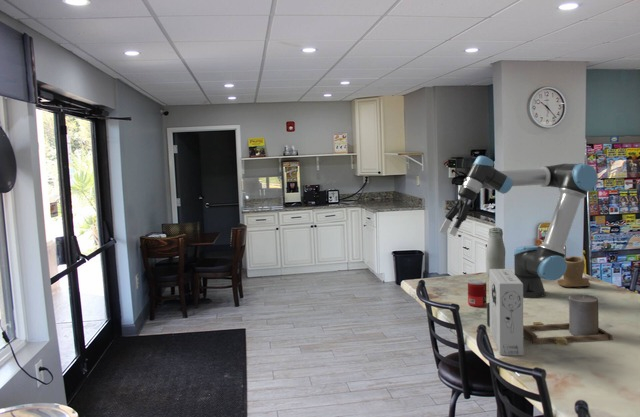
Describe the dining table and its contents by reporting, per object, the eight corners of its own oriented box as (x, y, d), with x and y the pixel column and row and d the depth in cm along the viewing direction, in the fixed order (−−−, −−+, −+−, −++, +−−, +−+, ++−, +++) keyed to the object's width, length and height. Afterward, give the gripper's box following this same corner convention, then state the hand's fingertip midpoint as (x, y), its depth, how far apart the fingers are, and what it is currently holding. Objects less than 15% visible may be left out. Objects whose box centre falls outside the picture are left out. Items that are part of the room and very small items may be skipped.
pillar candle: (595, 329, 188) (595, 291, 187) (601, 339, 179) (601, 298, 178) (567, 328, 192) (567, 290, 190) (571, 337, 182) (570, 297, 181)
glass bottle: (485, 280, 266) (485, 228, 263) (486, 276, 276) (486, 226, 273) (505, 281, 263) (505, 229, 260) (505, 276, 272) (505, 226, 269)
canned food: (487, 307, 220) (487, 283, 219) (468, 307, 222) (468, 283, 221) (485, 302, 228) (485, 279, 227) (467, 302, 230) (467, 279, 228)
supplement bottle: (484, 323, 200) (483, 294, 199) (500, 322, 201) (500, 293, 200) (491, 329, 194) (491, 299, 192) (508, 328, 194) (508, 298, 193)
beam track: (585, 323, 195) (585, 316, 195) (616, 341, 176) (616, 333, 176) (512, 327, 194) (512, 320, 194) (536, 346, 175) (536, 338, 175)
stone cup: (563, 289, 243) (563, 259, 242) (555, 283, 255) (555, 254, 253) (596, 289, 241) (596, 259, 240) (586, 283, 253) (586, 254, 251)
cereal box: (523, 356, 168) (523, 283, 165) (499, 355, 169) (499, 283, 166) (510, 333, 189) (510, 268, 186) (489, 332, 190) (489, 268, 188)
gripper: (452, 186, 226) (431, 228, 225) (472, 184, 201) (448, 231, 200) (467, 194, 226) (445, 235, 226) (488, 193, 201) (464, 239, 201)
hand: (446, 233), depth 213 cm, fingers open, 13 cm apart
